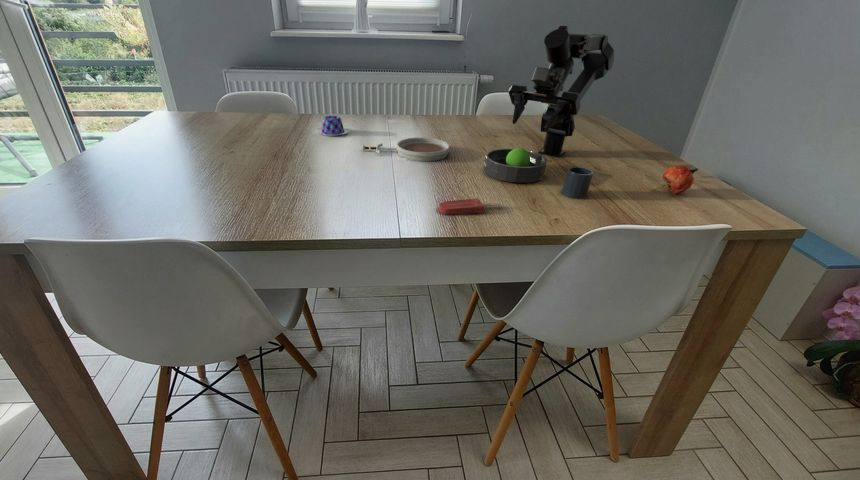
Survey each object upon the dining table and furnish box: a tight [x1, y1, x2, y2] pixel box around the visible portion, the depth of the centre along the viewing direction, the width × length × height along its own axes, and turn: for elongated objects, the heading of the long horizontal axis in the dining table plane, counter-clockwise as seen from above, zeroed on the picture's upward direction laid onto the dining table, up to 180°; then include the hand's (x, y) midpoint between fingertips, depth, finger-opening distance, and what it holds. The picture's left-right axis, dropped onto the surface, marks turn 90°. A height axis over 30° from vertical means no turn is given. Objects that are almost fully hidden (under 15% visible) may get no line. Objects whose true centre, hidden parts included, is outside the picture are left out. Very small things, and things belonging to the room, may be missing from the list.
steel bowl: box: [482, 148, 548, 184], centre depth 112 cm, size 16×16×4 cm
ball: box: [506, 147, 530, 167], centre depth 112 cm, size 6×6×6 cm
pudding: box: [315, 115, 351, 137], centre depth 144 cm, size 12×12×5 cm
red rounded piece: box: [652, 164, 698, 195], centre depth 102 cm, size 7×7×10 cm
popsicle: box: [437, 197, 502, 216], centre depth 93 cm, size 4×2×15 cm
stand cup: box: [561, 166, 595, 200], centre depth 100 cm, size 6×6×6 cm
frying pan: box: [360, 136, 451, 162], centre depth 127 cm, size 17×3×28 cm
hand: (528, 126), depth 109 cm, fingers open, 9 cm apart
